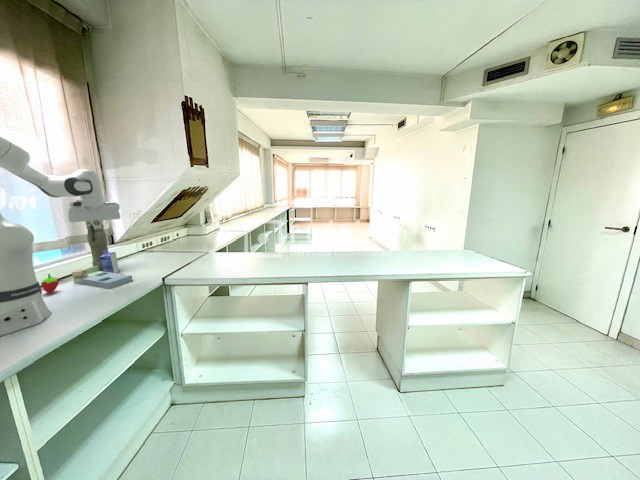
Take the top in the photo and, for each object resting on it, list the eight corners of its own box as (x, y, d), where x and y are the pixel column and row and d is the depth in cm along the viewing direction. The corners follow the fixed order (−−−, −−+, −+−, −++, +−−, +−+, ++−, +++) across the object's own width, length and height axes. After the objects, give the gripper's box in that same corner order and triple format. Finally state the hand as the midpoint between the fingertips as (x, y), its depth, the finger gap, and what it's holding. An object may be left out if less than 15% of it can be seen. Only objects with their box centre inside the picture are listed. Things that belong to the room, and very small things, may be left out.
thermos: (116, 267, 166) (106, 214, 159) (108, 272, 155) (97, 215, 148) (99, 268, 163) (88, 214, 156) (90, 274, 152) (78, 216, 145)
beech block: (81, 278, 136) (79, 271, 135) (74, 278, 137) (73, 271, 136) (88, 276, 140) (87, 269, 139) (82, 276, 141) (80, 269, 140)
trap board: (109, 288, 130) (107, 277, 129) (74, 282, 139) (71, 272, 138) (132, 280, 141) (130, 270, 140) (98, 275, 150) (96, 265, 149)
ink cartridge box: (108, 271, 157) (104, 249, 154) (119, 270, 160) (115, 248, 157) (103, 276, 148) (98, 252, 145) (114, 275, 151) (110, 251, 148)
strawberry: (63, 288, 131) (59, 270, 129) (56, 294, 124) (51, 274, 122) (48, 290, 128) (44, 272, 126) (40, 296, 122) (35, 276, 120)
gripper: (118, 201, 139) (122, 226, 142) (66, 203, 126) (72, 230, 129) (119, 202, 134) (123, 227, 137) (65, 203, 121) (70, 231, 124)
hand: (98, 229), depth 133 cm, fingers closed
